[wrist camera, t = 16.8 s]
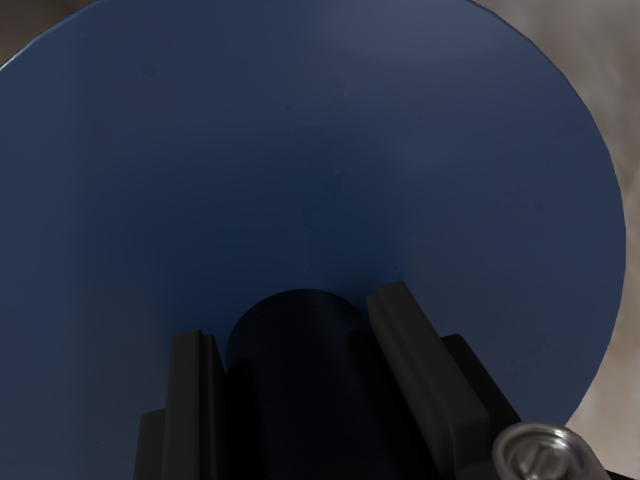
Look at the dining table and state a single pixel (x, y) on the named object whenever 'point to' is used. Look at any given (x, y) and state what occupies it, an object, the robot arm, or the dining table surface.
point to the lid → (290, 225)
